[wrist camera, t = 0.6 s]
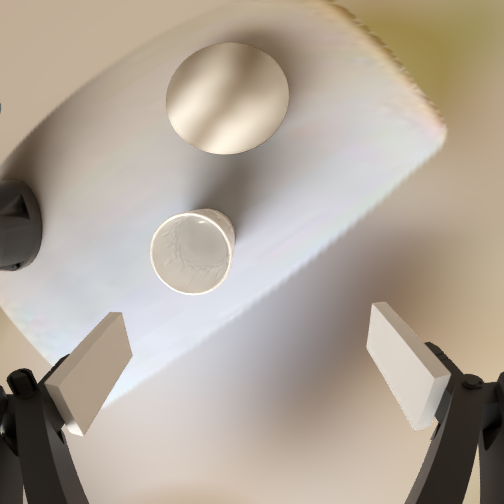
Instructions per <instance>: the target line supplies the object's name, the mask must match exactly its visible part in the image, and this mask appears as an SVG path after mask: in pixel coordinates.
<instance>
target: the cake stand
mask: <svg viewBox="0 0 504 504" xmlns="http://www.w3.org/2000/svg"><path fill="white" fill-rule="evenodd" d="M288 102H289V89H288V83H287V80H286V77H285V75H284V73H283V71H282V69H281V68H280V66H279V65H278V64H277V62H276V61H275V60H274V59H273V58H272V57H270V56H269V55H268V54H266V53H265V52H263V51H262V50H260V49H258V48H256V47H253V46H250V45H246V44H242V43H220V44H215V45H211V46H208V47H205V48H203V49H201V50H199V51H197V52H195V53H194V54H192V55H191V56H189V57H188V58H187V59H186V60H185V61H184V62H183V63H182V64H181V65H180V66H179V67H178V69H177V70H176V71H175V73H174V75H173V76H172V78H171V80H170V83H169V86H168V90H167V95H166V108H167V113H168V117H169V119H170V122H171V124H172V126H173V128H174V129H175V130H176V132H177V133H178V134H179V135H180V136H181V137H182V138H183V139H184V140H185V141H186V142H188V143H189V144H191V145H192V146H194V147H196V148H198V149H200V150H203V151H206V152H209V153H214V154H226V155H229V154H237V153H241V152H245V151H248V150H251V149H253V148H255V147H257V146H259V145H260V144H262V143H263V142H265V141H266V140H267V139H269V138H270V137H271V136H272V135H273V134H274V133H275V131H276V130H277V129H278V128H279V126H280V125H281V123H282V121H283V119H284V117H285V114H286V111H287V108H288Z"/></svg>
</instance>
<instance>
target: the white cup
mask: <svg viewBox="0 0 504 504" xmlns="http://www.w3.org/2000/svg"><path fill="white" fill-rule="evenodd" d="M234 246H235V237H234V228H233V226H232V224H231V222H230V220H229V218H228V217H226V216H225V215H224V214H222V213H221V212H220V211H217V210H212V209H208V208H206V209H197V210H191V211H188V212H184V213H180V214H176V215H174V216H172V217H170V218H168V219H167V220H165V221H164V222H163V223H162V224H161V225H160V226H159V227H158V229H157V230H156V232H155V234H154V236H153V238H152V242H151V247H150V256H151V261H152V265H153V268H154V270H155V272H156V274H157V275H158V277H159V278H160V279H161V280H162V281H163V282H164V283H165V284H166V285H167V286H168V287H170V288H171V289H173V290H175V291H177V292H179V293H183V294H187V295H200V294H204V293H207V292H210V291H212V290H214V289H215V288H217V287H218V286H219V285H220V284H221V283H222V282H223V281H224V280H225V278H226V277H227V275H228V273H229V271H230V268H231V264H232V258H233V253H234Z"/></svg>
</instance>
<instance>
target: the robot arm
mask: <svg viewBox="0 0 504 504" xmlns="http://www.w3.org/2000/svg"><path fill="white" fill-rule="evenodd" d="M0 112H1V104H0ZM41 235H42V225H41V216H40V211H39V207H38V204H37V201H36V199H35V196H34V194H33V193H32V191H31V190H30V188H29V187H28V186H27V185H26V184H25V183H24V182H22V181H20V180H17V179H9V180H2V181H0V271H17V270H20V269H22V268H24V267H26V266H28V265H29V264H31V263H32V262H33V260H34V259H35V257H36V255H37V253H38V251H39V247H40V243H41ZM367 349H368V351H369V353H370V355H371V356H372V358H373V360H374V361H375V363H376V365H377V366H378V368H379V370H380V372H381V373H382V375H383V377H384V378H385V380H386V382H387V383H388V385H389V387H390V389H391V391H392V392H393V394H394V396H395V398H396V399H397V401H398V403H399V405H400V406H401V408H402V410H403V412H404V414H405V415H406V417H407V419H408V421H409V423H410V424H411V426H412V428H413V430H414V431H417V430H420V429H423V428H427V427H430V425H431V423H432V421H433V418H434V416H435V417H436V419H437V420H438V422H439V423H438V425H437V427H436V429H435V431H434V433H433V435H432V437H431V440H432V441H431V444H430V446H429V449H428V452H427V454H426V457H425V459H424V462H423V464H422V467H421V469H420V472H419V474H418V476H417V478H416V481H415V483H414V485H413V487H412V489H411V491H410V494H409V496H408V498H407V500H406V502H405V504H462V502H463V500H464V497H465V493H466V490H467V486H468V483H469V479H470V476H471V472H472V467H473V463H474V459H475V454H476V450H477V445H478V447H479V460H480V504H504V372H502V373H501V374H500V376H499V378H498V380H497V382H490V383H484V382H483V380H482V379H481V378H479V377H478V376H475V375H472V374H463V373H462V372H461V371H460V370H459V369H458V367H457V366H456V365H455V364H454V363H453V362H452V361H451V360H450V359H448V357H447V356H446V355H445V354H444V352H443V351H442V350H441V349H440V348H439V347H438V346H436V345H434V344H432V343H431V342H426V343H423V341H421V339H420V338H419V337H418V336H417V335H416V334H415V333H414V332H413V331H412V329H411V328H410V327H409V326H408V325H407V324H406V323H405V322H404V321H403V320H402V319H401V318H400V317H399V316H398V315H397V313H396V312H395V311H394V310H393V309H392V308H391V307H390V306H389V305H388V304H387V303H386V302H379V303H372V309H371V318H370V326H369V333H368V341H367ZM132 356H133V355H132V352H131V348H130V344H129V340H128V336H127V332H126V328H125V324H124V320H123V316H122V313H119V312H110V313H109V314H108V315H107V316H106V317H105V318H104V319H103V320H102V321H101V322H100V323H99V324H98V325H97V326H96V327H95V328H94V329H93V330H92V331H91V332H90V333H89V334H88V335H87V337H86V338H85V339H84V340H83V341H82V342H81V343H80V344H79V345H78V346H77V347H76V348H75V349H74V350H73V352H72V353H71V354H68V355H66V356H64V357H63V358H61V359H60V360H59V361H58V362H57V363H56V364H55V366H53V367H52V369H51V371H49V372H48V373H47V374H46V375H45V376H44V377H43V378H42V380H41V381H40V382H39V383H38V384H37V382H36V380H35V378H34V376H33V373H32V371H31V370H29V369H25V368H23V369H18V370H16V371H14V372H12V373H11V374H10V375H9V376H8V377H7V383H8V385H9V387H10V389H11V390H12V392H13V394H6V393H5V391H4V389H3V387H2V386H0V429H1V431H2V435H1V433H0V504H23V484H24V489H25V493H26V498H27V502H28V504H89V502H88V500H87V498H86V495H85V493H84V490H83V488H82V485H81V483H80V480H79V478H78V476H77V472H76V469H75V467H74V464H73V461H72V458H71V455H70V452H69V448H68V445H67V442H66V439H65V435H64V433H63V431H62V429H61V428H62V426H63V425H64V423H65V425H66V426H67V428H68V430H69V431H70V433H73V434H77V435H81V436H85V434H86V432H87V431H88V429H89V427H90V425H91V423H92V422H93V420H94V418H95V417H96V415H97V413H98V412H99V410H100V408H101V407H102V405H103V403H104V401H105V400H106V398H107V396H108V395H109V393H110V391H111V390H112V388H113V387H114V385H115V383H116V382H117V380H118V378H119V377H120V375H121V373H122V372H123V370H124V369H125V367H126V365H127V364H128V362H129V361H130V359H131V357H132Z"/></svg>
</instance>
